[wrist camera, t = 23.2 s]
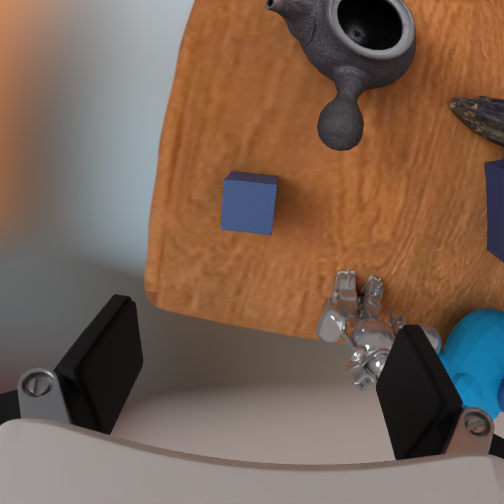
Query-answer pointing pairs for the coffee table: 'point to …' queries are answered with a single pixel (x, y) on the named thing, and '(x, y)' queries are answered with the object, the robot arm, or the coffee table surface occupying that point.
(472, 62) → the coffee table surface
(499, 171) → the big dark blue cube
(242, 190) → the blue block
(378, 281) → the robot toy
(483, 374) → the piggy bank
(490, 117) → the statue
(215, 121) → the coffee table surface
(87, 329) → the robot arm
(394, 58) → the teapot
